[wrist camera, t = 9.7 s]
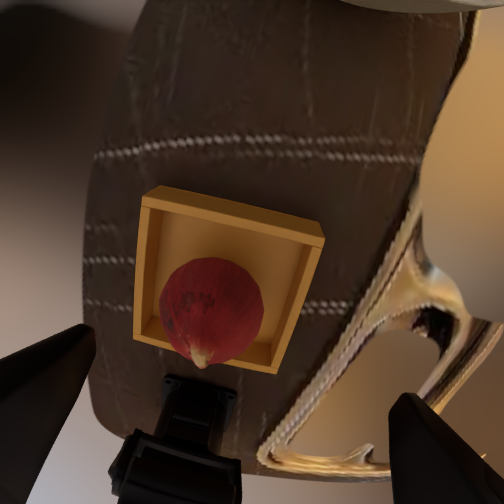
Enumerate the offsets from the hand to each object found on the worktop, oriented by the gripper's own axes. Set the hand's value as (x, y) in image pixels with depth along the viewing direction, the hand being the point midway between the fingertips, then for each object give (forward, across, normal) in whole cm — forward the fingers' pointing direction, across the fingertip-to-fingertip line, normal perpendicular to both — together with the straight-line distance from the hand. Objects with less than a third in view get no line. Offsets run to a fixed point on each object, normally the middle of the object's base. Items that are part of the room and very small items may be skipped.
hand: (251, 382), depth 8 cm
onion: (+13, +2, +4) cm, 13 cm away
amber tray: (+13, +2, +4) cm, 14 cm away
